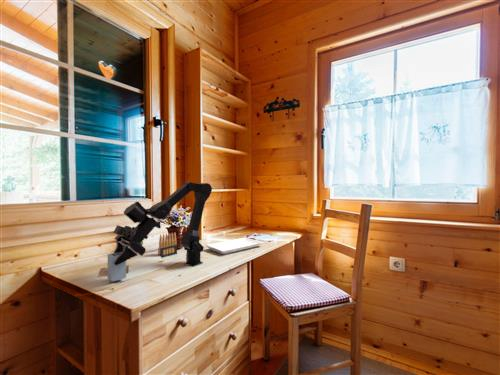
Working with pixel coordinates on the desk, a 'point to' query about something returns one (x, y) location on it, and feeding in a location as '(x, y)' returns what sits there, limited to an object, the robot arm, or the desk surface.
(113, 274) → the sleeve
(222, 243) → the closed laptop
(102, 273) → the stand
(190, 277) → the desk surface
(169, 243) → the ammunition clip
